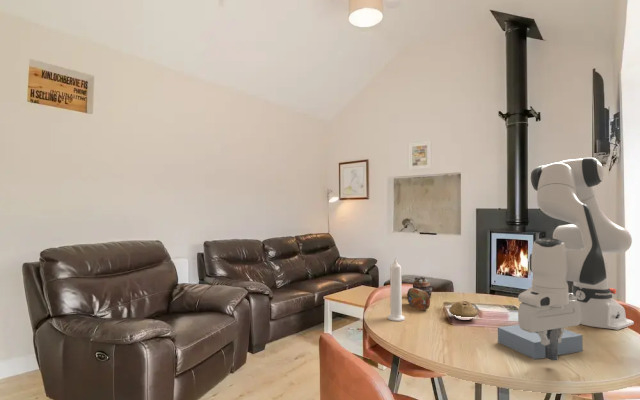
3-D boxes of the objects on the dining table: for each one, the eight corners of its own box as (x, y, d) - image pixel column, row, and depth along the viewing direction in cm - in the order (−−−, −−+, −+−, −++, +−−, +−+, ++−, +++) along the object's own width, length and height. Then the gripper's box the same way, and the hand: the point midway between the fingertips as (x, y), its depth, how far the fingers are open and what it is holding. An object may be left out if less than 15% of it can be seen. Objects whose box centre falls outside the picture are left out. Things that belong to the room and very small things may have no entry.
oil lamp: (477, 314, 147) (477, 296, 147) (478, 325, 134) (477, 304, 134) (450, 311, 152) (450, 293, 152) (448, 321, 138) (447, 301, 138)
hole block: (542, 335, 123) (542, 321, 123) (582, 351, 109) (582, 335, 109) (497, 342, 117) (497, 327, 117) (534, 359, 103) (534, 342, 103)
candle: (392, 314, 147) (392, 256, 148) (407, 318, 142) (407, 257, 143) (384, 318, 141) (384, 258, 142) (400, 322, 137) (399, 259, 138)
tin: (406, 303, 165) (406, 286, 165) (412, 303, 166) (412, 285, 166) (425, 312, 150) (425, 293, 150) (431, 312, 151) (431, 292, 151)
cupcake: (423, 300, 170) (423, 280, 170) (408, 296, 178) (408, 277, 178) (436, 297, 175) (436, 278, 175) (421, 294, 183) (421, 275, 184)
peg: (550, 355, 101) (549, 320, 101) (560, 359, 98) (559, 324, 98) (542, 356, 100) (541, 322, 100) (552, 361, 97) (551, 325, 97)
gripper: (565, 289, 105) (566, 335, 105) (513, 295, 99) (514, 344, 99) (587, 294, 99) (588, 342, 99) (533, 301, 93) (534, 352, 93)
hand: (551, 343), depth 99 cm, fingers closed on peg, 3 cm apart
